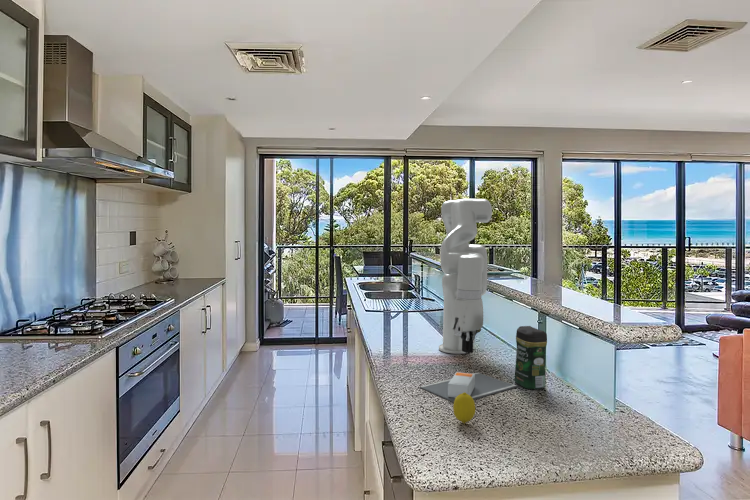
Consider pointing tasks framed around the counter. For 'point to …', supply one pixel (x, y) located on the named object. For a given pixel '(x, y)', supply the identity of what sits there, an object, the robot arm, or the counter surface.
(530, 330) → the coffee jar
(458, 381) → the skincare box
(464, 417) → the lemon
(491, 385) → the mat
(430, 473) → the counter surface
